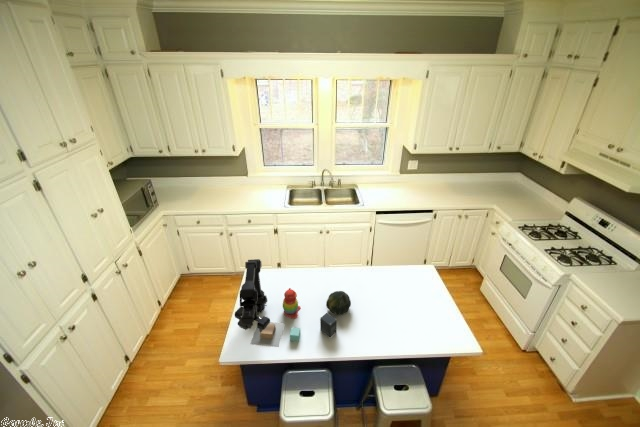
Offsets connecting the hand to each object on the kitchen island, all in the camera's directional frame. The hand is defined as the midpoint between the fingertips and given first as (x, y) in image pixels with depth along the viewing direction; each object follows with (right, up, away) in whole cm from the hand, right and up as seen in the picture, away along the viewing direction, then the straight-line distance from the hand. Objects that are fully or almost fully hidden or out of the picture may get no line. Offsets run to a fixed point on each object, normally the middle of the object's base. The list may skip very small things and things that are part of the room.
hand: (253, 328), depth 155 cm
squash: (+47, 0, +30) cm, 55 cm away
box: (+40, -8, +16) cm, 43 cm away
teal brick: (+21, -10, +11) cm, 26 cm away
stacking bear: (+17, -1, +28) cm, 33 cm away
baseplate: (+5, -9, +14) cm, 17 cm away
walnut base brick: (+5, -8, +13) cm, 16 cm away
